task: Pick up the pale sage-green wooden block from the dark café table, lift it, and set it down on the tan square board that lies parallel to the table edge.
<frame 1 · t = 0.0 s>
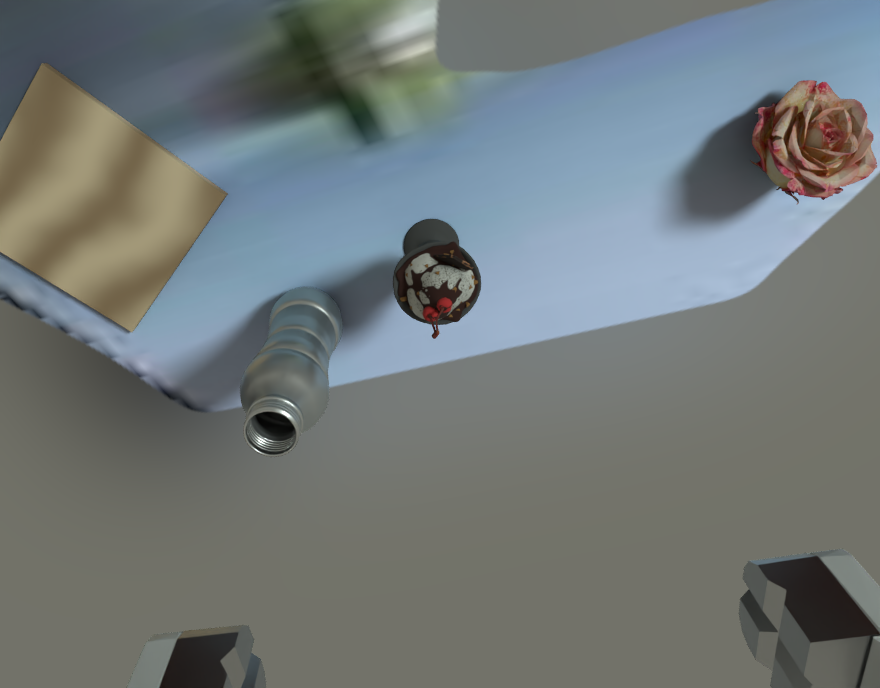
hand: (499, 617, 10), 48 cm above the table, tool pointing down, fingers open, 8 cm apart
tan square board: (95, 207, 54), on the table
flower: (781, 134, 55), on the table
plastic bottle: (310, 312, 60), on the table
sundae: (431, 245, 58), on the table
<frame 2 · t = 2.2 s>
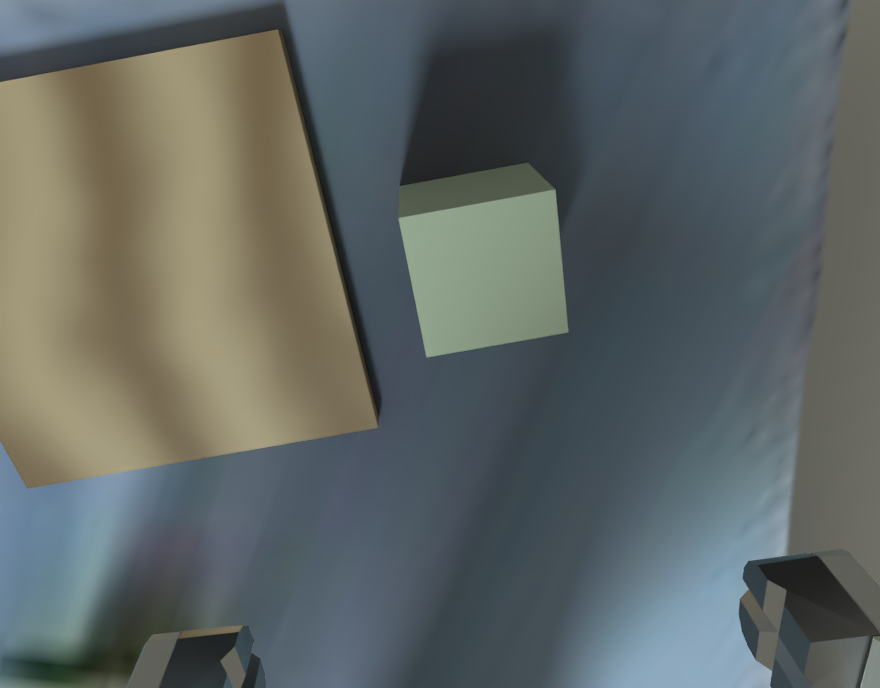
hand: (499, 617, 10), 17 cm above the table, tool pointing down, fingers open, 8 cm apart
tan square board: (141, 285, 26), on the table
sage block: (472, 236, 26), on the table
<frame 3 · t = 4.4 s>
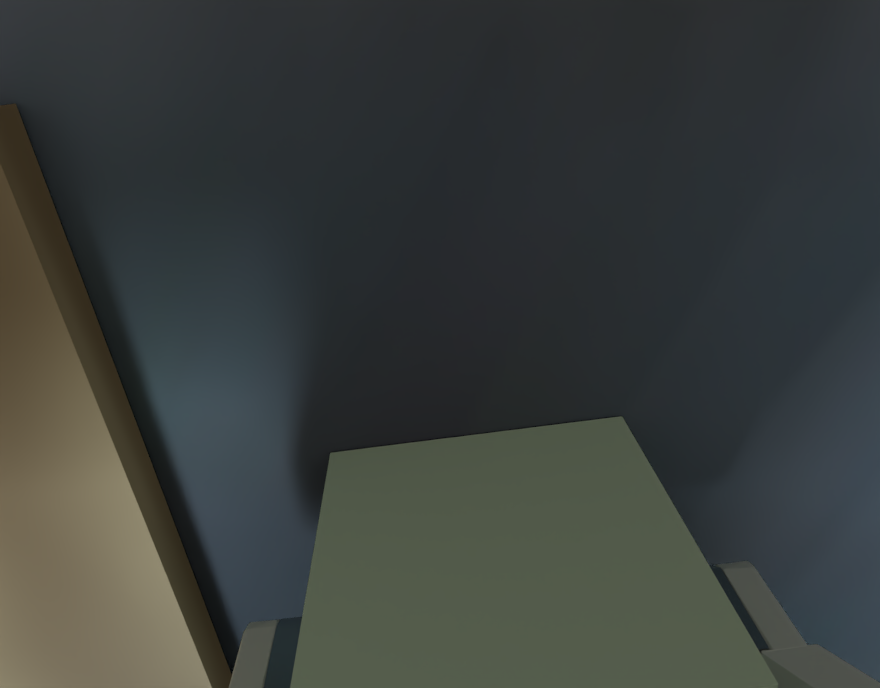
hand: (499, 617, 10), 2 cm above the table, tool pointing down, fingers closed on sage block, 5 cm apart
sage block: (487, 545, 12), on the table, touching gripper
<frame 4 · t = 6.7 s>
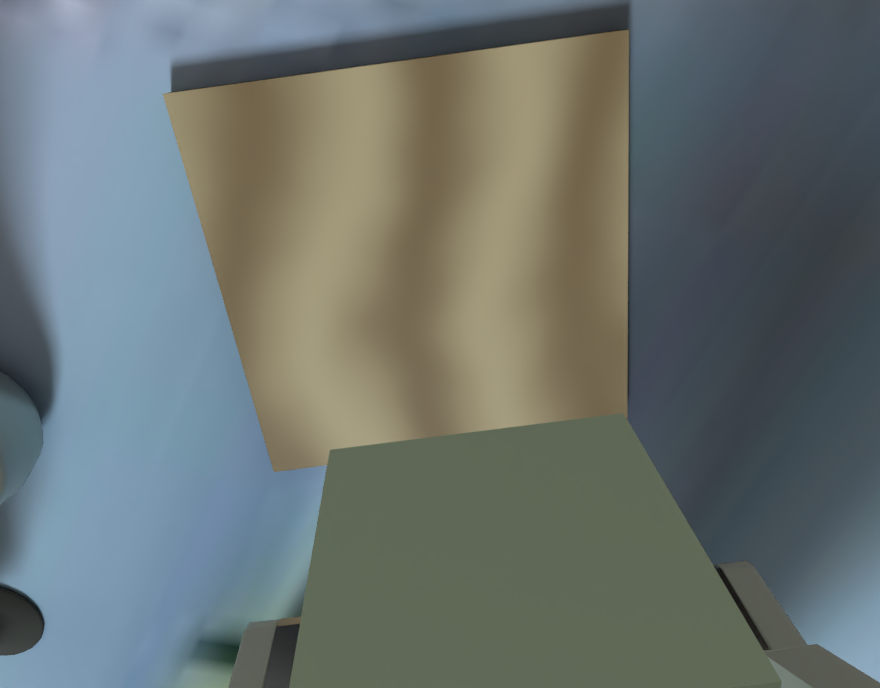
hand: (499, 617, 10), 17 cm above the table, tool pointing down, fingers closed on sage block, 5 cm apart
tan square board: (425, 275, 26), on the table
sage block: (488, 543, 12), point 16 cm above the table, touching gripper
when the fingers open (4 cm above the table, at t = 9.3 s): sage block drops 1 cm, resting on tan square board.
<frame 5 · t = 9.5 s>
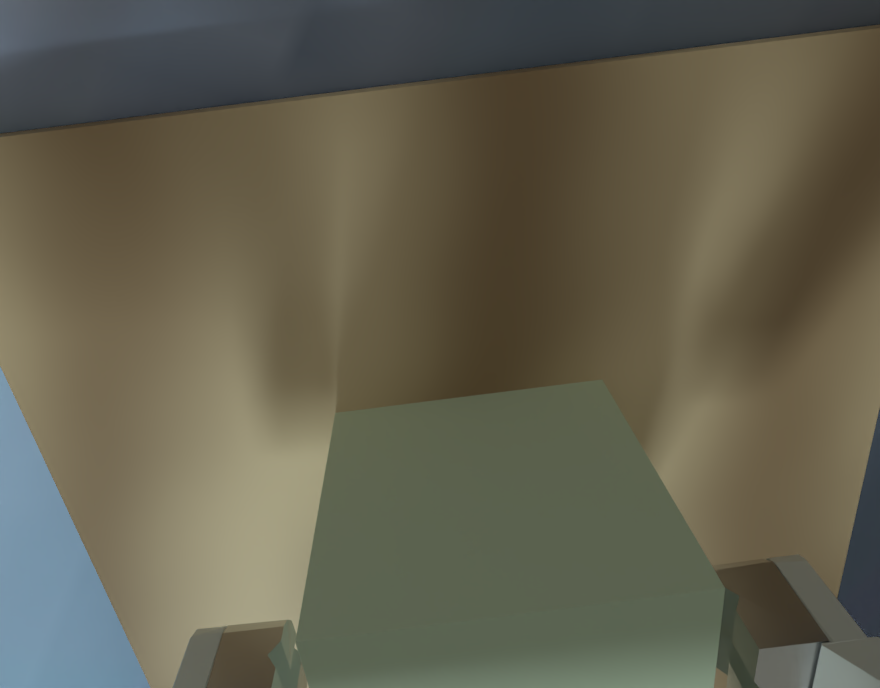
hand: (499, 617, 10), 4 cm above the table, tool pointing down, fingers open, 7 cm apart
tan square board: (474, 480, 14), on the table
sage block: (480, 501, 13), point 1 cm above the table, touching tan square board
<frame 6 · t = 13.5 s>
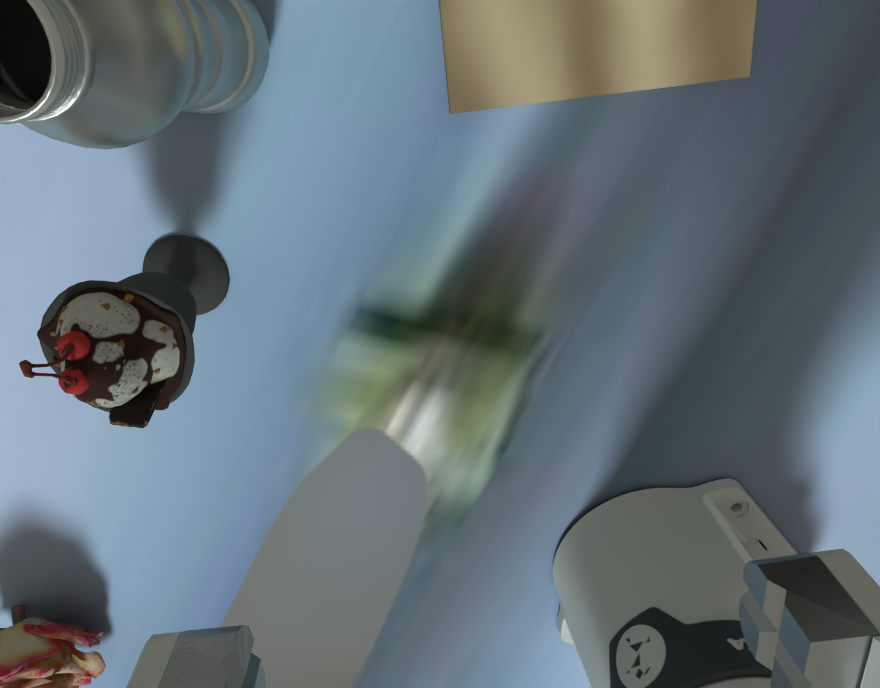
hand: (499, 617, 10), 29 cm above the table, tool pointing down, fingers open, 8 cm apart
flower: (62, 623, 49), on the table
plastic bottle: (212, 40, 33), on the table
sundae: (186, 274, 38), on the table
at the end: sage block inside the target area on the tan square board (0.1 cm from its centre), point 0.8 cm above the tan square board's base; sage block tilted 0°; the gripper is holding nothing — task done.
